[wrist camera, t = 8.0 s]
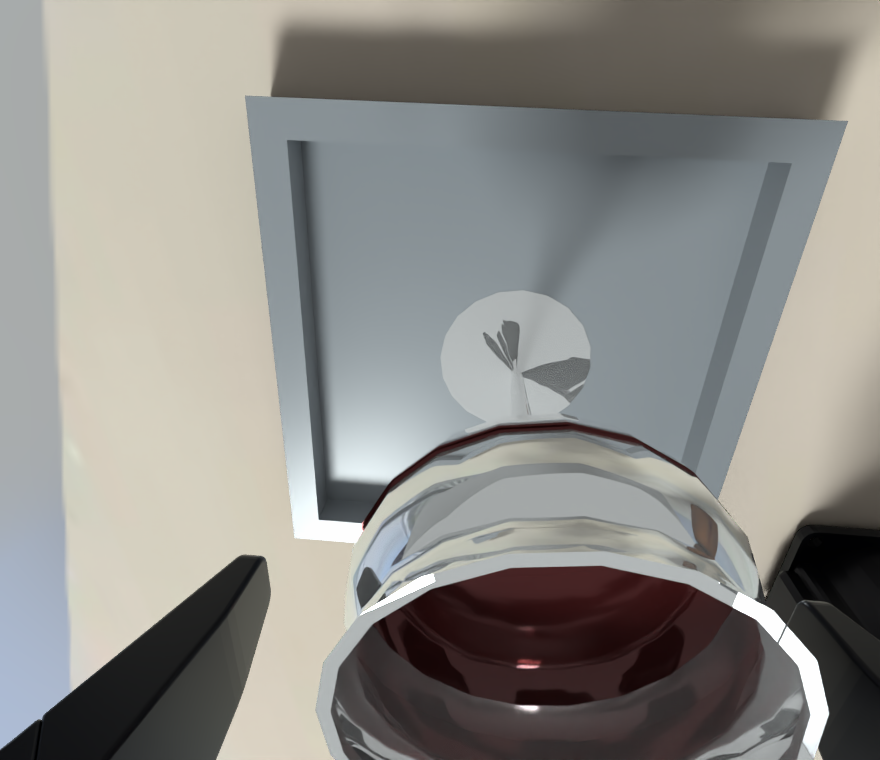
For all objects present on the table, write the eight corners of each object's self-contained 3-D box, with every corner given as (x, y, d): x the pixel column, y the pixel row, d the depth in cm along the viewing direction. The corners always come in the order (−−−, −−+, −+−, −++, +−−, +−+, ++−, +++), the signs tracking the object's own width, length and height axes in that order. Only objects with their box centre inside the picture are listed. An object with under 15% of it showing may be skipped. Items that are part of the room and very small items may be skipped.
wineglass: (561, 471, 20) (651, 898, 9) (387, 408, 19) (263, 789, 8) (659, 309, 17) (967, 661, 6) (457, 227, 16) (404, 462, 5)
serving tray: (808, 119, 15) (847, 121, 13) (677, 536, 21) (693, 570, 20) (269, 97, 15) (245, 95, 14) (308, 506, 22) (294, 538, 21)
